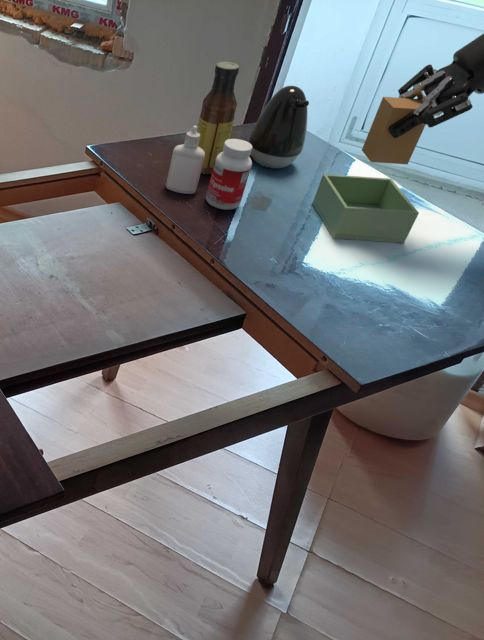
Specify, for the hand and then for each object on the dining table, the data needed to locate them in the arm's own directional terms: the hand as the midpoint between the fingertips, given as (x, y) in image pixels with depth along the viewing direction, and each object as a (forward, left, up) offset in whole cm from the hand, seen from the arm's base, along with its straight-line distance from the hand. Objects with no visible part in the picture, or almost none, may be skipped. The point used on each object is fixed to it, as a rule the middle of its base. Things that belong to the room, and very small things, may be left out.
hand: (385, 126), depth 109 cm
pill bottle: (+21, -4, -17) cm, 28 cm away
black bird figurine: (+8, -22, -17) cm, 29 cm away
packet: (-2, 0, -5) cm, 5 cm away
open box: (-2, 0, -17) cm, 17 cm away
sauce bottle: (+22, -17, -17) cm, 33 cm away
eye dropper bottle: (+28, -8, -17) cm, 34 cm away
